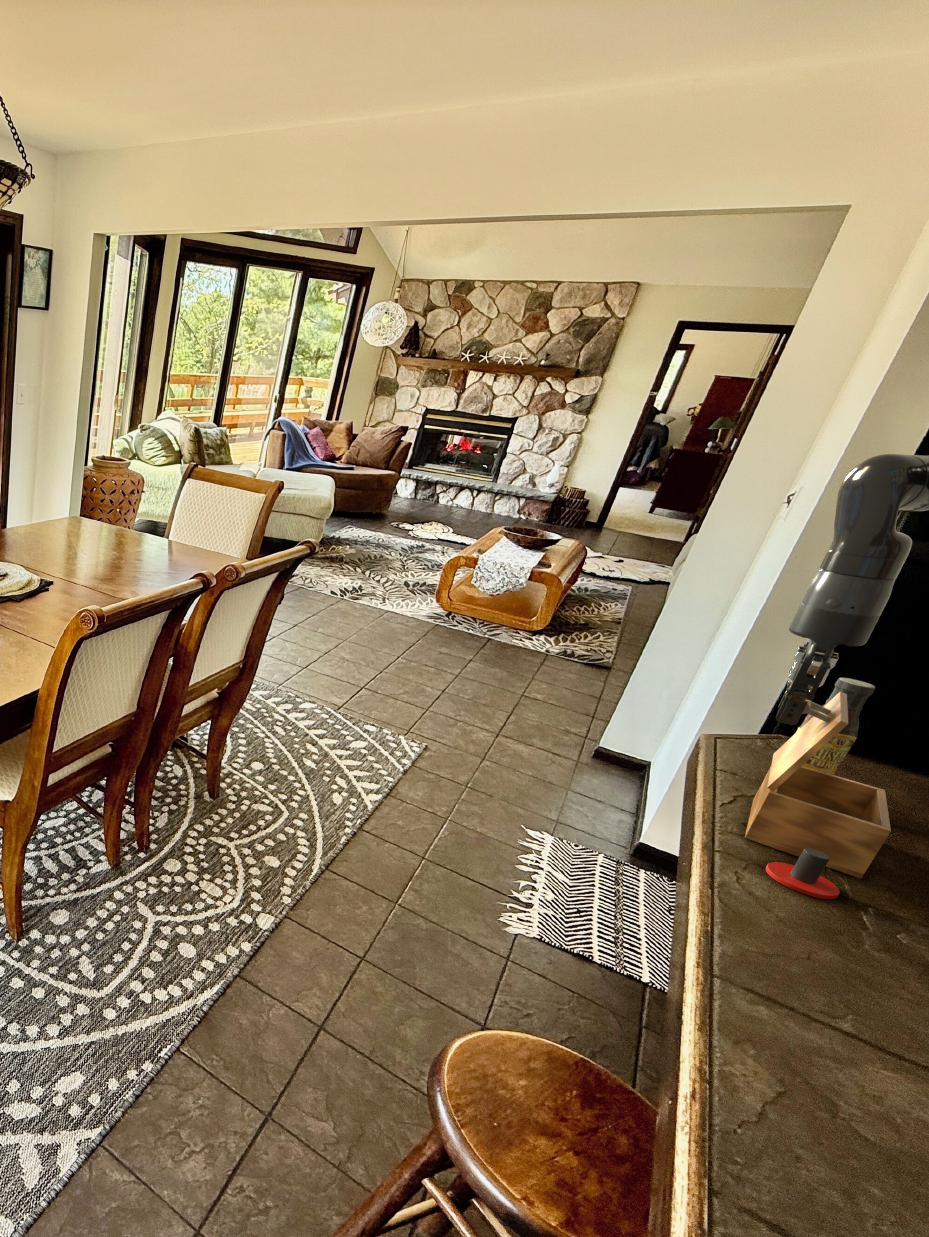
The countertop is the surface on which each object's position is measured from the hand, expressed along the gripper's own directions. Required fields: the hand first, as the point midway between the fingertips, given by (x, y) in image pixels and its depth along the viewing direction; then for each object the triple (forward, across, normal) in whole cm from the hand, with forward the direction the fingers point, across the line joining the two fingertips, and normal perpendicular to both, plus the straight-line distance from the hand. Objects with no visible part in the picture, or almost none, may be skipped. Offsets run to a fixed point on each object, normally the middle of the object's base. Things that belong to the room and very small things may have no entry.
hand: (786, 717), depth 101 cm
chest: (+17, 0, -7) cm, 18 cm away
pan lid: (+17, -16, -7) cm, 25 cm away
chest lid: (+3, 0, -3) cm, 4 cm away
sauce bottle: (+17, +19, -6) cm, 26 cm away
